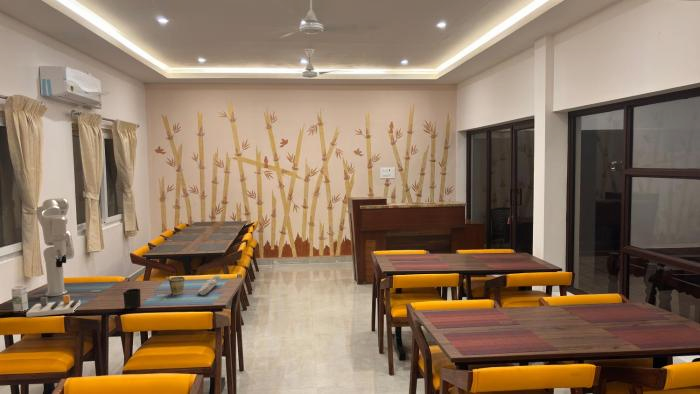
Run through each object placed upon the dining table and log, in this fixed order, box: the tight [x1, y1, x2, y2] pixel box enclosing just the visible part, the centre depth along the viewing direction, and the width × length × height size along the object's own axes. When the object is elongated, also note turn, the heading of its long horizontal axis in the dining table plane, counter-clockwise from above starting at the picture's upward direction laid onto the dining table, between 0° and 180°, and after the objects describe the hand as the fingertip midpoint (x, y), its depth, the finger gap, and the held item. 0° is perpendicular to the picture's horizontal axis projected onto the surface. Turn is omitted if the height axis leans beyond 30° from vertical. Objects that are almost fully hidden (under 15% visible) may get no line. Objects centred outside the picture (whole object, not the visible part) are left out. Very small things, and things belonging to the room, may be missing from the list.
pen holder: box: [122, 288, 142, 310], centre depth 302 cm, size 9×9×10 cm
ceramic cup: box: [168, 276, 186, 296], centre depth 332 cm, size 13×10×10 cm
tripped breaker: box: [62, 294, 71, 304], centre depth 303 cm, size 2×3×4 cm
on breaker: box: [40, 296, 49, 306], centre depth 300 cm, size 2×3×4 cm
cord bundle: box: [51, 297, 80, 310], centre depth 300 cm, size 15×12×2 cm
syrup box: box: [10, 285, 29, 312], centre depth 298 cm, size 6×6×14 cm
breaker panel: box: [25, 299, 82, 318], centre depth 299 cm, size 18×24×3 cm
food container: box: [197, 274, 221, 296], centre depth 338 cm, size 12×30×6 cm, turn 0°
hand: (61, 265), depth 308 cm, fingers open, 9 cm apart
